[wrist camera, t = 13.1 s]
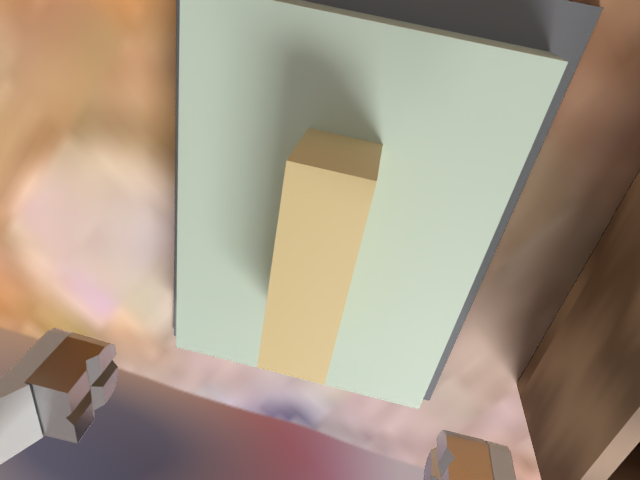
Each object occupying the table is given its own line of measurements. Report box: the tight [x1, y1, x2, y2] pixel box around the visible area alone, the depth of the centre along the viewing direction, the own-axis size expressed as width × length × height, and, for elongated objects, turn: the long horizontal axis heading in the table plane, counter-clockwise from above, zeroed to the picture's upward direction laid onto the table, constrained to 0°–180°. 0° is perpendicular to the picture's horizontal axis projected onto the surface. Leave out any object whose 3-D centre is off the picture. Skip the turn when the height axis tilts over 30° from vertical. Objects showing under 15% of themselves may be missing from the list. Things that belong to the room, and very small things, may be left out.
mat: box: [174, 0, 603, 400], centre depth 21 cm, size 20×15×1 cm
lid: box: [176, 0, 568, 409], centre depth 19 cm, size 17×13×6 cm
